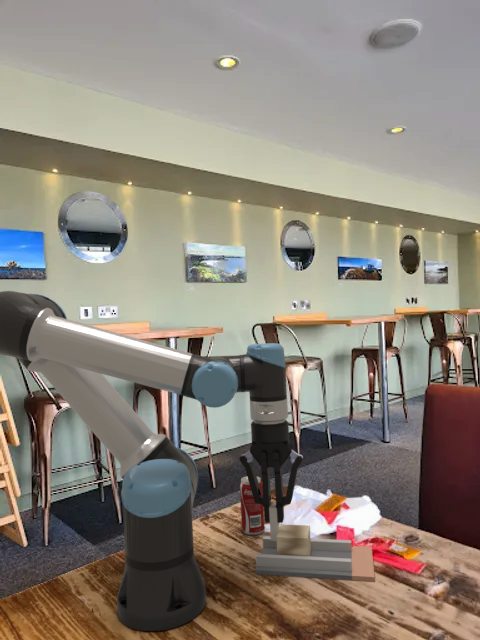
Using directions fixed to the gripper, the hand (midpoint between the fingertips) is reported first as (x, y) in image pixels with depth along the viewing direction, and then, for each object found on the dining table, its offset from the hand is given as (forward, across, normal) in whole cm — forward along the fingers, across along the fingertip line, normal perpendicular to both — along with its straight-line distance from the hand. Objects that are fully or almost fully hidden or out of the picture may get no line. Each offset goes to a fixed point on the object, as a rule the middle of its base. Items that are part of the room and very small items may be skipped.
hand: (275, 537), depth 98 cm
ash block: (+4, +4, 0) cm, 5 cm away
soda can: (+5, -7, +13) cm, 16 cm away
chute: (+4, +8, 0) cm, 9 cm away
